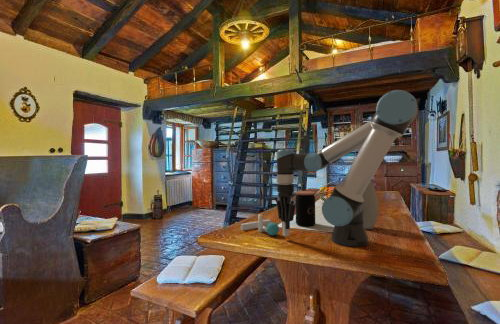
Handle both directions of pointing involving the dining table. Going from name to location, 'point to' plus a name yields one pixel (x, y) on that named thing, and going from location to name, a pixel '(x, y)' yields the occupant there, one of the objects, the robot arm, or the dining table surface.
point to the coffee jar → (305, 208)
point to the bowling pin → (370, 206)
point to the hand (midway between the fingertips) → (285, 235)
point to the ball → (272, 228)
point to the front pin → (264, 229)
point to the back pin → (260, 223)
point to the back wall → (254, 224)
